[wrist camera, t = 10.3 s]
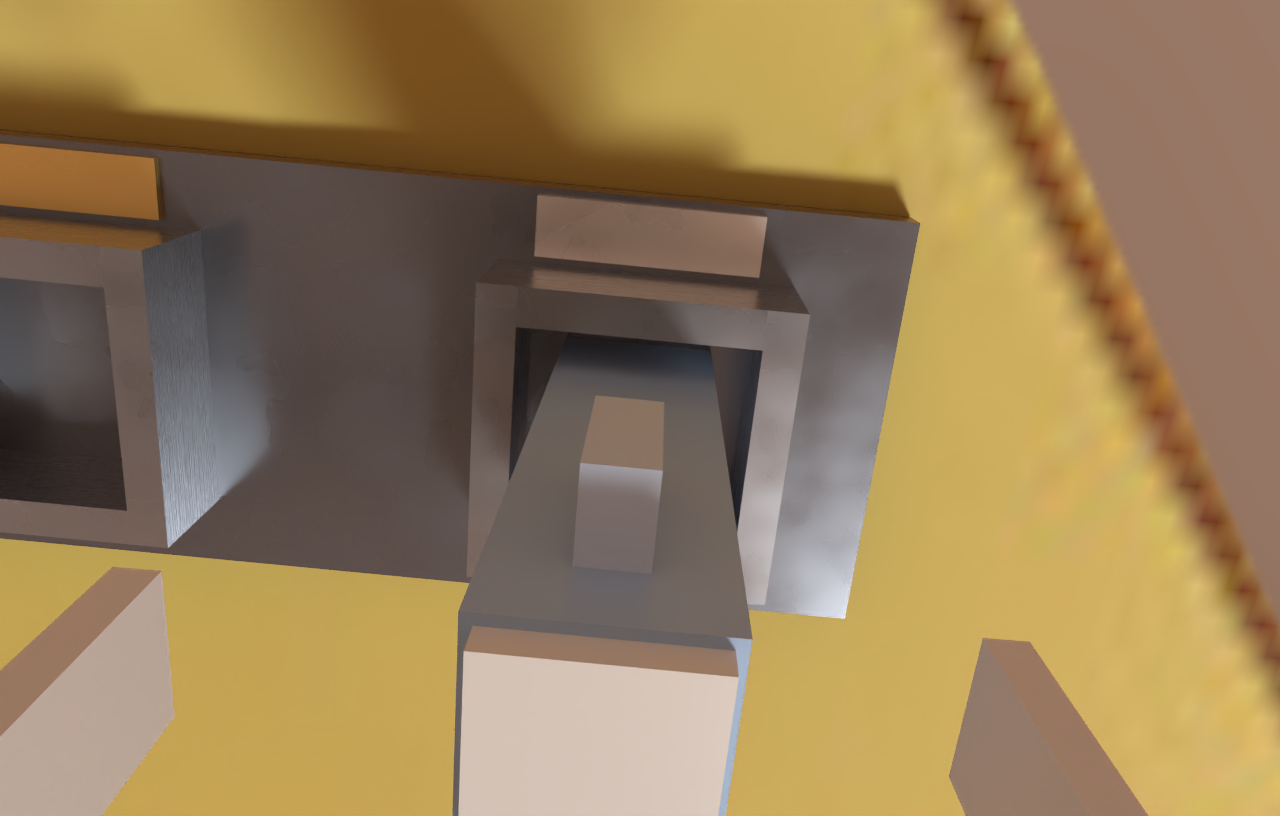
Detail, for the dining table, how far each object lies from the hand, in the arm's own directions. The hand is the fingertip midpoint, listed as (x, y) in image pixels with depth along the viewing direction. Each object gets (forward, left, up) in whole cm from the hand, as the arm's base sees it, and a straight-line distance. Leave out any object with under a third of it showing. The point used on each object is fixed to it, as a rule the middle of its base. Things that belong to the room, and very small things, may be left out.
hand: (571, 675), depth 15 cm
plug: (0, 0, -12) cm, 12 cm away
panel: (-8, 0, -13) cm, 15 cm away
